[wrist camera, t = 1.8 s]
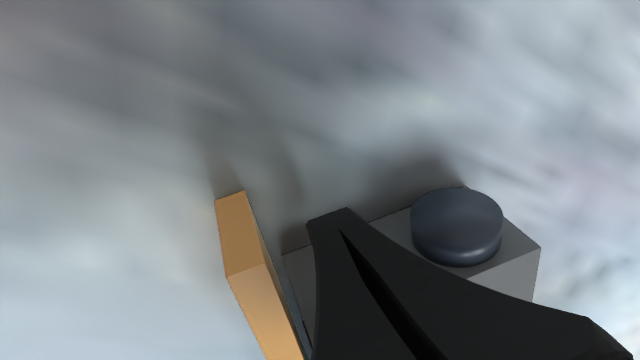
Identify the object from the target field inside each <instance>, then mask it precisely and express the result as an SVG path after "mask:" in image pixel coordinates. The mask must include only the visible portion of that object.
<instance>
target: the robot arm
mask: <svg viewBox="0 0 640 360" xmlns="http://www.w3.org/2000/svg"><path fill="white" fill-rule="evenodd" d="M306 227H307V230H308V234H309V237H310V241H311V244H312V247H313V251H314V260H315V271H316V313H315V328H314V338H313V347H312V355H311V360H634V359H633V355H632V354H631V353H630V352H629V351H628V350H626V349H625V348H624V347H623V346H622V345H621V344H620V343H619V342H617V341H616V340H615V339H614V338H613V337H612V336H611V335H610V334H609V333H608V332H606V331H605V330H604V329H602V328H601V327H600V326H599V325H597V324H596V323H595V322H593V321H592V320H591V319H590V318H588V317H585V316H581V315H577V314H573V313H570V312H566V311H562V310H558V309H554V308H550V307H546V306H542V305H538V304H535V303H532V302H528V301H525V300H522V299H519V298H515V297H512V296H509V295H506V294H503V293H501V292H498V291H495V290H493V289H490V288H487V287H485V286H482V285H479V284H477V283H474V282H472V281H469V280H467V279H465V278H462V277H460V276H458V275H455V274H453V273H451V272H449V271H447V270H445V269H443V268H441V267H439V266H437V265H435V264H433V263H431V262H429V261H427V260H425V259H423V258H422V257H420V256H418V255H416V254H415V253H413V252H411V251H409V250H408V249H406V248H405V247H403V246H401V245H400V244H398V243H397V242H395V241H394V240H392V239H390V238H389V237H387V236H386V235H384V234H383V233H381V232H380V231H379V230H377V229H376V228H374V227H373V226H372V225H370V224H369V223H367V222H366V221H365V220H364V219H362V218H361V217H360V216H358V215H357V214H356V213H355V212H353V211H352V210H351V209H349V208H347V207H345V208H342V209H339V210H337V211H334V212H331V213H328V214H326V215H323V216H320V217H318V218H315V219H312V220H309V221H308V223H307V224H306Z"/></svg>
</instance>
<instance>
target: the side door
mask: <svg viewBox="0 0 640 360" xmlns="http://www.w3.org/2000/svg"><path fill="white" fill-rule="evenodd" d="M214 203H215V209H216V216H217V222H218V229H219V236H220V242H221V249H222V255H223V262H224V269H225V275H226V279H227V281H228V283H229V285H230V287H231V289H232V291H233V293H234V295H235V297H236V299H237V301H238V303H239V305H240V307H241V309H242V311H243V313H244V315H245V317H246V319H247V321H248V323H249V325H250V327H251V329H252V331H253V333H254V335H255V337H256V339H257V341H258V343H259V345H260V347H261V349H262V351H263V353H264V355H265V357H266V359H267V360H310V359H309V357H308V354H307V352H306V349H305V346H304V344H303V341H302V339H301V336H300V333H299V331H298V328H297V326H296V323H295V320H294V318H293V315H292V313H291V310H290V307H289V305H288V302H287V300H286V297H285V294H284V292H283V289H282V286H281V284H280V281H279V279H278V276H277V273H276V271H275V268H274V266H273V263H272V260H271V258H270V255H269V253H268V250H267V247H266V245H265V242H264V240H263V237H262V234H261V232H260V229H259V227H258V224H257V221H256V219H255V216H254V214H253V211H252V208H251V206H250V203H249V200H248V198H247V195H246V193H245V190H244V191H241V192H238V193H235V194H232V195H229V196H226V197H223V198H220V199H218V200H215V201H214Z"/></svg>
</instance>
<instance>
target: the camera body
mask: <svg viewBox="0 0 640 360" xmlns="http://www.w3.org/2000/svg"><path fill="white" fill-rule="evenodd" d="M369 224H370V225H372V226H373V227H374V228H376V229H377V230H379V231H380V232H381V233H383V234H384V235H386V236H387V237H389V238H390V239H392V240H394V241H395V242H397V243H398V244H400V245H401V246H403V247H405V248H406V249H408V250H409V251H411V252H413V253H415V254H416V255H418V256H420V257H422V258H423V259H425V260H427V261H429V262H431V263H433V264H435V265H437V266H439V267H441V268H443V269H445V270H447V271H449V272H451V273H453V274H455V275H458V276H460V277H462V278H465V279H467V280H469V281H472V282H474V283H477V284H479V285H482V286H485V287H487V288H490V289H493V290H495V291H498V292H501V293H503V294H506V295H509V296H512V297H515V298H519V299H522V300H525V301H528V302H532V298H533V292H534V287H535V281H536V275H537V270H538V264H539V258H540V253H541V247H540V246H539V245H538V244H537V243H535V242H534V241H533V240H532V239H530V238H529V237H528V236H527V235H526V234H524V233H523V232H522V231H521V230H519V229H518V228H517V227H516V226H515V225H513V224H512V223H511V222H510V221H508V220H507V219H506V218H505V217H504V216H503V213H502V210H501V208H500V207H499V205H498V204H497V203H496V202H495V201H494V200H493V199H491V198H490V197H489V196H487V195H485V194H483V193H480V192H478V191H475V190H471V189H469V188H468V187H467V186H464V187H462V188H443V189H438V190H435V191H431V192H429V193H427V194H425V195H423V196H422V197H420V198H419V199H418V200H417V201H416V202H415V203H414V204H413V206H411V207H409V208H406V209H404V210H401V211H398V212H396V213H393V214H390V215H388V216H385V217H382V218H380V219H377V220H374V221H372V222H369ZM282 258H283V261H284V264H285V267H286V270H287V273H288V276H289V279H290V282H291V285H292V288H293V290H294V293H295V296H296V299H297V302H298V305H299V308H300V311H301V314H302V317H303V321H302V322H303V325H304V328H305V331H306V334H307V337H308V340H309V343H310V346H311V349H312V347H313V338H314V328H315V313H316V271H315V260H314V251H313V247H312V244H311V245H308V246H306V247H303V248H301V249H298V250H295V251H293V252H290V253H287V254H285V255H282Z"/></svg>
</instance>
